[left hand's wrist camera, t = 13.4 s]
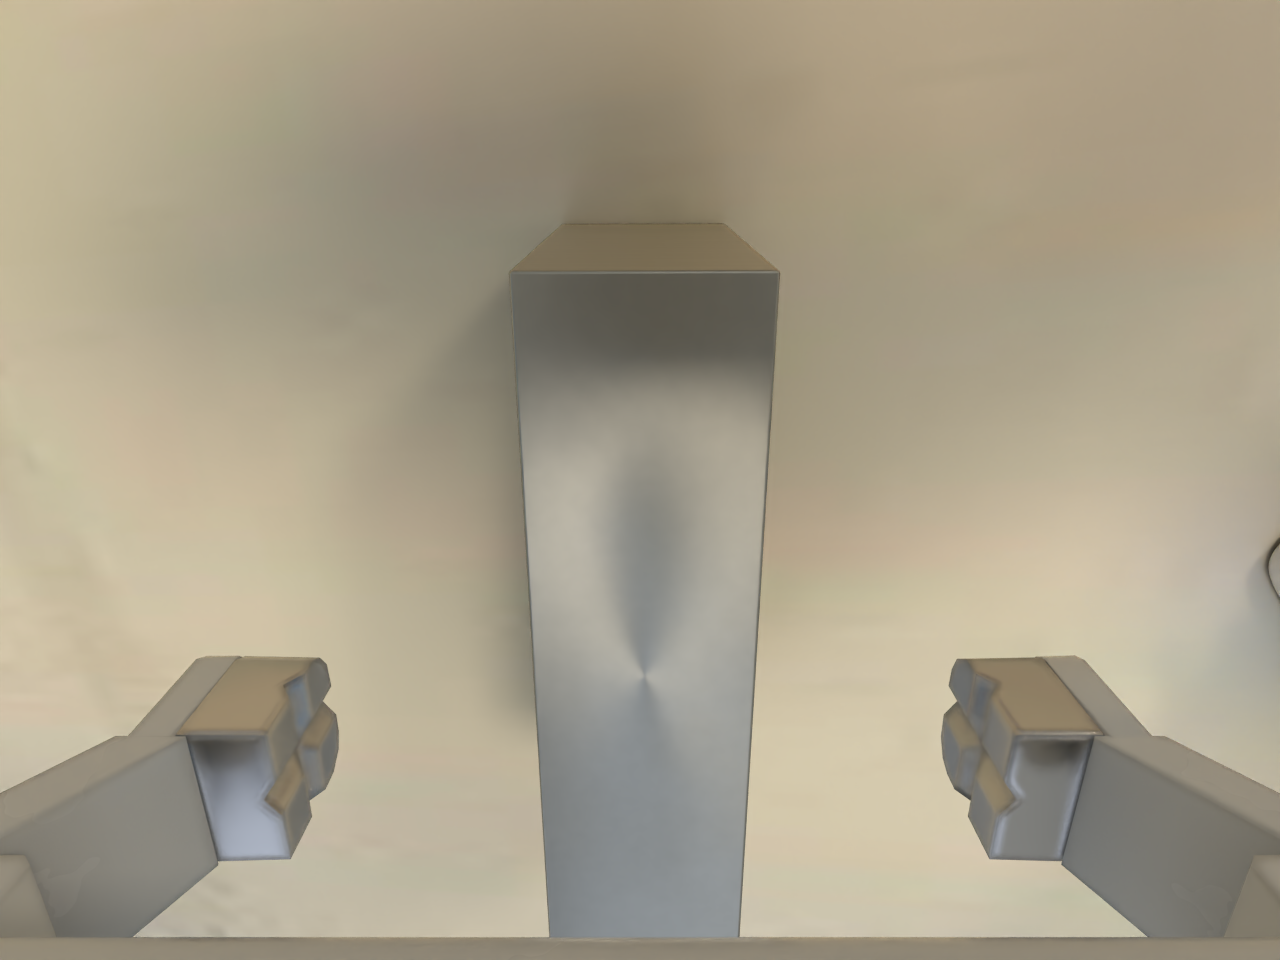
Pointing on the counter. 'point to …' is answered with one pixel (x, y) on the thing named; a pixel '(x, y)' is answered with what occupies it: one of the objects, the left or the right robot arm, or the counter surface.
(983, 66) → the counter surface
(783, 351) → the counter surface
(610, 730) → the box
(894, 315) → the counter surface
